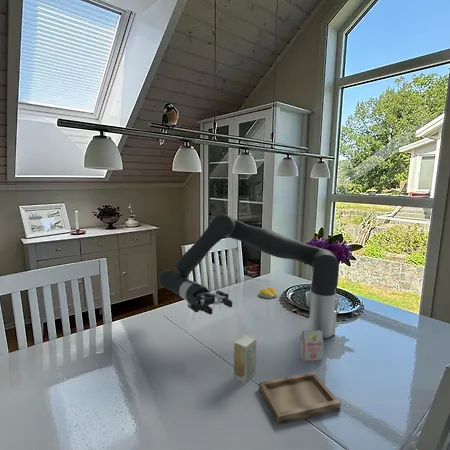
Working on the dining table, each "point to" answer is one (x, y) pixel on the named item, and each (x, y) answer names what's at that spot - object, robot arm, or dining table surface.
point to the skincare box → (245, 358)
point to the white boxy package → (311, 346)
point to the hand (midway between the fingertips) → (221, 307)
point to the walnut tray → (298, 397)
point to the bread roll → (268, 293)
